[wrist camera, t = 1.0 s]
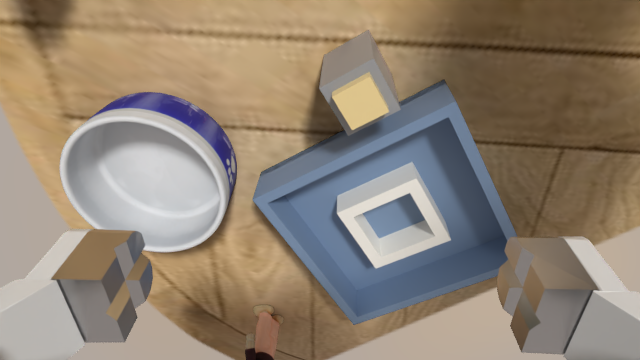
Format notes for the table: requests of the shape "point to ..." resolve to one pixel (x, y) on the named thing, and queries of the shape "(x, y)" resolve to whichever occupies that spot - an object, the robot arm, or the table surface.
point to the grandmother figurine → (263, 334)
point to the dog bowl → (151, 170)
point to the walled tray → (391, 209)
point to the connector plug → (358, 84)
